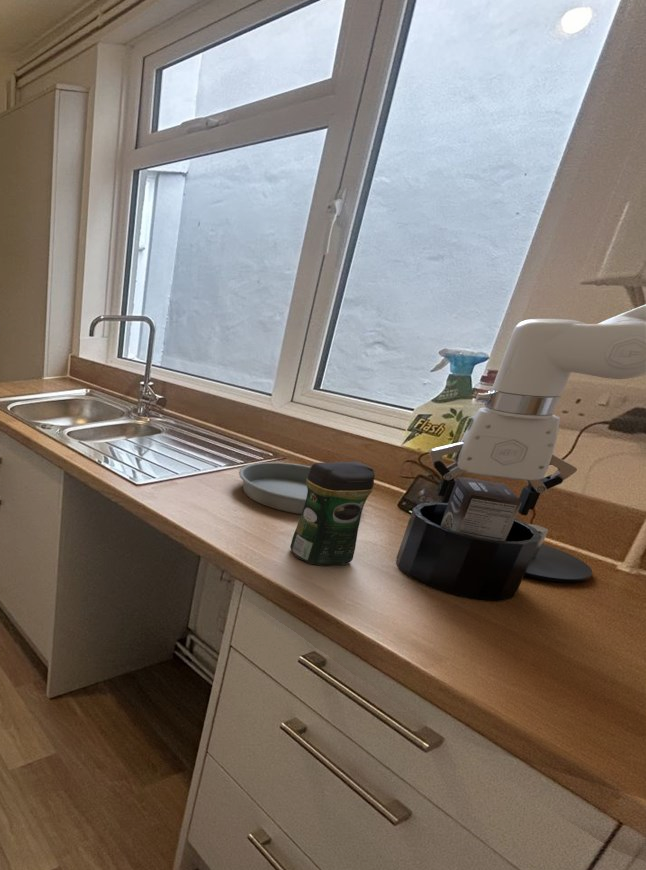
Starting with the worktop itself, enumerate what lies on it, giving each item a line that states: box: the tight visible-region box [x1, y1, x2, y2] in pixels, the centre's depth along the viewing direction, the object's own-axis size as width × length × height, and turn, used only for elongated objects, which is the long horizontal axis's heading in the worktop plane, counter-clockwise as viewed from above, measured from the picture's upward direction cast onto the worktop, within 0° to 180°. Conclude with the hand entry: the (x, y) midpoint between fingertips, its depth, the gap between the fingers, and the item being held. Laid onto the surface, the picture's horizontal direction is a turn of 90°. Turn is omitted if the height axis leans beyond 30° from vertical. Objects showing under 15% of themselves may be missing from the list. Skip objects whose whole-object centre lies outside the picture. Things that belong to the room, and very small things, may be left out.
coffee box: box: [440, 476, 522, 541], centre depth 88 cm, size 9×6×16 cm
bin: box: [396, 501, 542, 602], centre depth 90 cm, size 16×16×10 cm
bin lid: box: [524, 523, 593, 583], centre depth 95 cm, size 17×17×7 cm
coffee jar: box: [289, 461, 376, 566], centre depth 95 cm, size 10×8×19 cm
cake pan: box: [238, 461, 311, 515], centre depth 123 cm, size 25×25×4 cm
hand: (480, 506), depth 87 cm, fingers open, 9 cm apart
